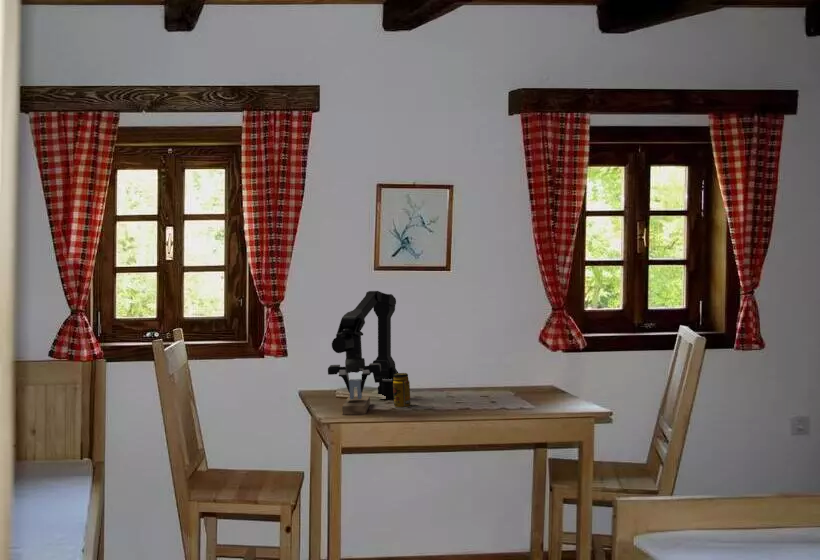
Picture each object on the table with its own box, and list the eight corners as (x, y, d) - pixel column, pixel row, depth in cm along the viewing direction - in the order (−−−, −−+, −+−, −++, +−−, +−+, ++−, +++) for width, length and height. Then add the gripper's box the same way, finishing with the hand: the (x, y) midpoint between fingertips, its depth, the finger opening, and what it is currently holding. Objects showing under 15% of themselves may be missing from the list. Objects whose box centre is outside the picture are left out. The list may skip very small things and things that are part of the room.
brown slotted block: (370, 404, 388) (369, 396, 388) (365, 413, 368) (364, 405, 368) (348, 404, 388) (348, 396, 388) (342, 414, 368) (342, 406, 368)
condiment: (388, 407, 380) (387, 374, 379) (404, 403, 386) (402, 371, 385) (404, 408, 375) (402, 375, 374) (419, 405, 381) (417, 372, 381)
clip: (362, 397, 379) (361, 378, 379) (361, 398, 375) (360, 380, 375) (351, 397, 379) (350, 379, 379) (349, 399, 375) (349, 381, 375)
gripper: (324, 353, 369) (327, 397, 369) (377, 351, 368) (380, 395, 368) (328, 349, 380) (330, 392, 380) (380, 347, 379) (382, 390, 380)
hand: (355, 392), depth 377 cm, fingers closed on clip, 4 cm apart
